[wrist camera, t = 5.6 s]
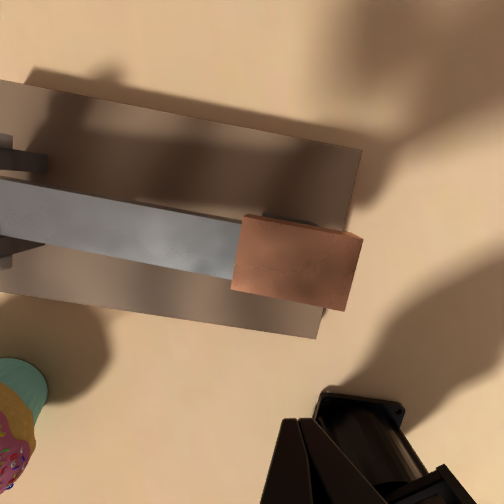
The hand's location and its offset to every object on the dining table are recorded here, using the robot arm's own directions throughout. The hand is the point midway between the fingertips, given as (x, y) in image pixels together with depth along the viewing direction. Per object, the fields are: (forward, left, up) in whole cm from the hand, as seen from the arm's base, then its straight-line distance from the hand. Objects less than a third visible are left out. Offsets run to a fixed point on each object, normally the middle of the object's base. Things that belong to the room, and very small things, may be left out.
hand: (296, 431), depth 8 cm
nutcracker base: (+6, -4, -12) cm, 14 cm away
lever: (+6, -4, -8) cm, 11 cm away
